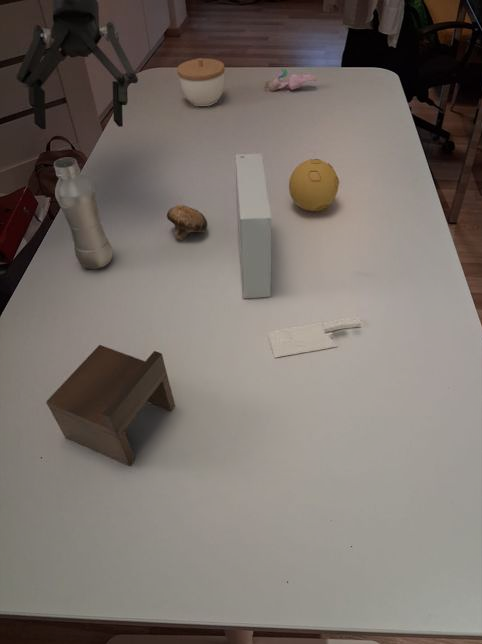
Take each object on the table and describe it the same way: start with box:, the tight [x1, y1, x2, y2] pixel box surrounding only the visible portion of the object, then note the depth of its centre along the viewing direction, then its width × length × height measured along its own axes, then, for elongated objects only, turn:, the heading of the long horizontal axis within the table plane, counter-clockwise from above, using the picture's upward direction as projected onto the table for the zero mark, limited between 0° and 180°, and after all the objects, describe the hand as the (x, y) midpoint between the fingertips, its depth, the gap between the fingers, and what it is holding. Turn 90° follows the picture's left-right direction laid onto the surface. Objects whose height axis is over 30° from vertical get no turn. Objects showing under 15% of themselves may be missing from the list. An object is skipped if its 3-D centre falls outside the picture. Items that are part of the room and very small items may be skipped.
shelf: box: [45, 344, 176, 467], centre depth 71 cm, size 11×11×11 cm
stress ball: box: [288, 158, 340, 213], centre depth 107 cm, size 10×10×10 cm
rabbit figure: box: [263, 68, 318, 92], centre depth 151 cm, size 6×6×15 cm
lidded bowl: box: [176, 57, 226, 105], centre depth 145 cm, size 13×13×11 cm
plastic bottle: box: [53, 156, 113, 270], centre depth 93 cm, size 6×7×20 cm
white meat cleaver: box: [266, 316, 362, 359], centre depth 84 cm, size 5×15×1 cm, turn 101°
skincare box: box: [234, 153, 272, 299], centre depth 93 cm, size 21×5×16 cm, turn 4°
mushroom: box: [166, 204, 208, 241], centre depth 104 cm, size 8×8×6 cm
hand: (79, 125), depth 92 cm, fingers open, 13 cm apart
